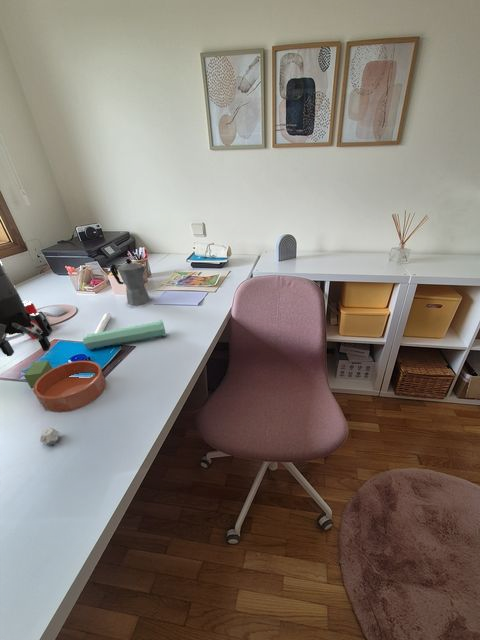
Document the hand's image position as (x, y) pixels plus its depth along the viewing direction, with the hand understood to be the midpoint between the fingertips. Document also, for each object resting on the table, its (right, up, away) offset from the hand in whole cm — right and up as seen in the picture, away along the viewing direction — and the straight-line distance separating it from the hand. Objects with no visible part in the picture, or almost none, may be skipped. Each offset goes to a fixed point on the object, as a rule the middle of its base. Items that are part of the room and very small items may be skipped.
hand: (29, 352), depth 79 cm
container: (+16, +3, +22) cm, 27 cm away
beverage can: (-17, +5, +26) cm, 32 cm away
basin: (+11, -10, +1) cm, 15 cm away
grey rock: (+15, -20, -13) cm, 28 cm away
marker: (+4, +9, +31) cm, 32 cm away
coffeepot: (+8, +21, +49) cm, 54 cm away
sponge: (0, -8, +5) cm, 10 cm away
